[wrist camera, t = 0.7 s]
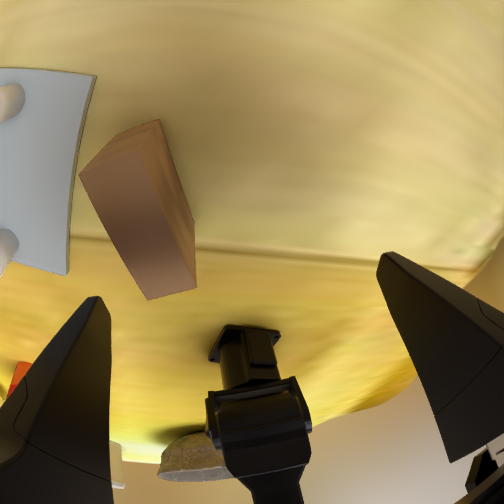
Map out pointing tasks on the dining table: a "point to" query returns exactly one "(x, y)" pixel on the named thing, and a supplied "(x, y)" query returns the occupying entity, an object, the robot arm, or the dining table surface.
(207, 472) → the bowl
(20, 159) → the wall panel
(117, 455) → the coffee cup
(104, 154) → the brown box shape
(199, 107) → the dining table surface
